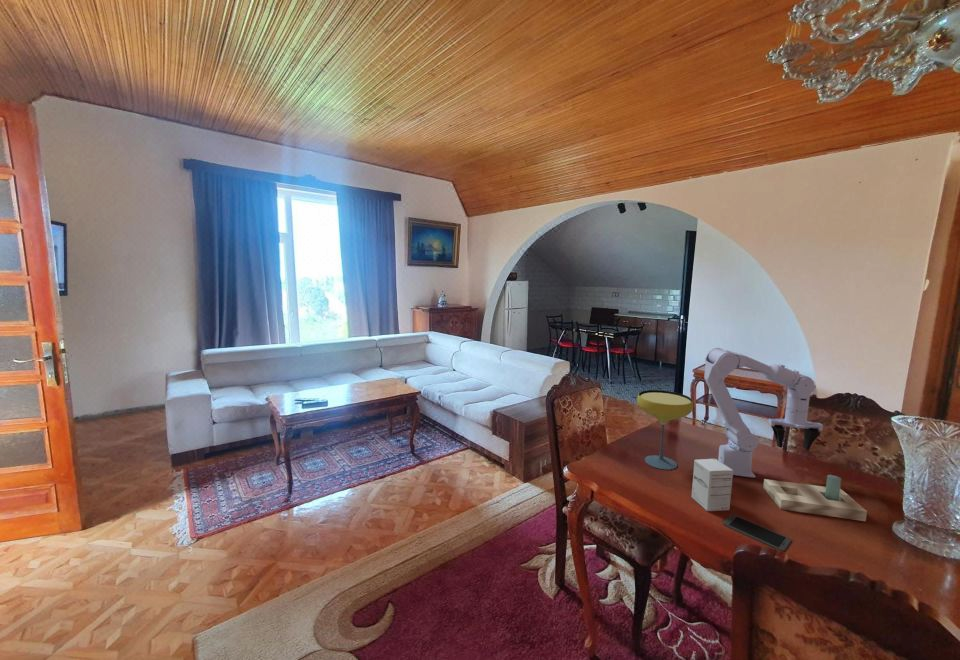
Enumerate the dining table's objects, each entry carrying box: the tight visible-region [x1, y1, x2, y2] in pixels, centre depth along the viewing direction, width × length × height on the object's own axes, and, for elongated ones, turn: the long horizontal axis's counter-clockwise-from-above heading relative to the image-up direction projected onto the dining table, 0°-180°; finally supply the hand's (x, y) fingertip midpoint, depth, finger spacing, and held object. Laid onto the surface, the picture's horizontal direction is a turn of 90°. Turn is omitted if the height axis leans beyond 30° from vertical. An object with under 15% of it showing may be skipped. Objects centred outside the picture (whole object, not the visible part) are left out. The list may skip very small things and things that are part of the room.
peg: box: [825, 474, 842, 501], centre depth 112 cm, size 3×3×9 cm
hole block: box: [762, 478, 868, 522], centre depth 114 cm, size 20×12×3 cm, turn 73°
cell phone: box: [721, 513, 792, 553], centre depth 101 cm, size 7×14×1 cm, turn 38°
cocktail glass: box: [636, 389, 694, 471], centre depth 138 cm, size 18×18×25 cm
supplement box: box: [691, 458, 734, 512], centre depth 113 cm, size 7×7×13 cm
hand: (792, 447), depth 129 cm, fingers open, 7 cm apart
